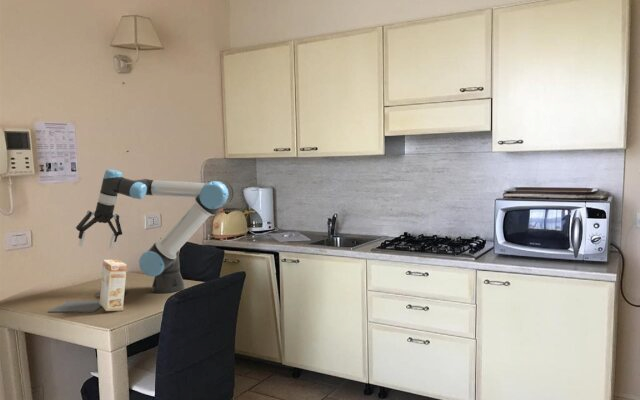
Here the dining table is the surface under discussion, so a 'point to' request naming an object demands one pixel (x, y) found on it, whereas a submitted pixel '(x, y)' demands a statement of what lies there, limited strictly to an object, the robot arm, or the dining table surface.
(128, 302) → the dining table surface
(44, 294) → the dining table surface
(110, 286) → the coffeecake box
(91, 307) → the mat
